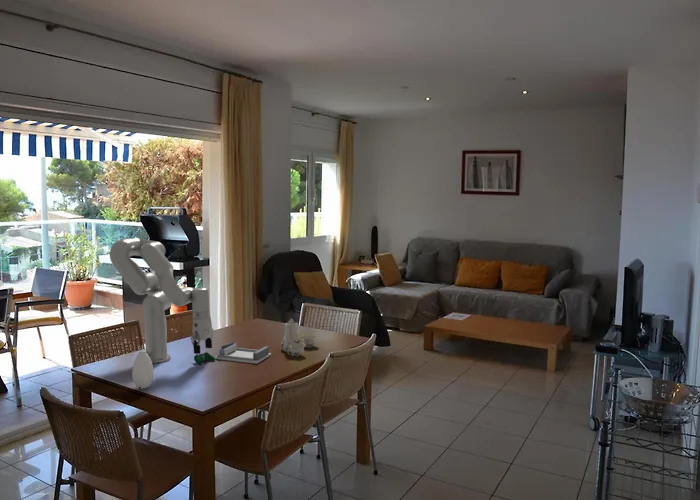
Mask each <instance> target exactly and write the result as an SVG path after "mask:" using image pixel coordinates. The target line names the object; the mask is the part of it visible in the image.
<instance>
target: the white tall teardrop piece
mask: <svg viewBox="0 0 700 500" xmlns="http://www.w3.org/2000/svg"><path fill="white" fill-rule="evenodd" d="M131 370H132V375H131V376H132V379H133V383H134V384H135V386H136V387H137V388H139V387H141V388H145V389H147V388H148V387H149V386H150V385H151V384H152V382H153V379H154V375H155V374H154V366H153V363H152V362H151V359H150V357H149V356H148V354H147V353H146V349H144V345H143V343H142V345H141V350H139V351H138V354H137V355H136V357H135V359H134V361H133V366H132V369H131ZM146 387H147V388H146ZM141 388H140V389H141Z"/></svg>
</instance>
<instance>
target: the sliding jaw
mask: <svg viewBox="0 0 700 500" xmlns="http://www.w3.org/2000/svg"><path fill="white" fill-rule="evenodd" d="M220 347H221V348H219V349H218V350H219V355H227V354H229V353H231V352H233V351H235V350H236V348H237V343H235V341H234V340H232V341H231V342H228V343H226V344H224V345H222V346H220Z"/></svg>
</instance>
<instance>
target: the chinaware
mask: <svg viewBox="0 0 700 500" xmlns="http://www.w3.org/2000/svg"><path fill="white" fill-rule="evenodd" d="M298 324H299V323H298V322H295V321H294V319H293V318H290V319H289V320H288V322H285V323H284V325H285V333H284V337H283V338H282V340H281V342H280V347H281V348H282V351H284V352H286V353H287V355H289V356H292V357H295V356H296V357H300V356H299V355H301V354H302V353H303V352H304V350H305V347H306V348H313V347H314V345H316V343H317V339H318V337H319V336H318V335H314V334H309V335H304V334H303V335H302V337H301V338H300V337H299V336H298ZM300 339H302V341H301V340H300Z"/></svg>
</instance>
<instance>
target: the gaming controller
mask: <svg viewBox="0 0 700 500" xmlns="http://www.w3.org/2000/svg"><path fill="white" fill-rule="evenodd" d="M193 360H194V362H195V363H196V364H197V365H199V366H201V365H202V363H203V362H207V361H210V362H215V361H216V359H215V357H214V356H213V355H211V354H210V353H209V352H208V351H205V352H203V353H200V354H195V355H194V356H193Z"/></svg>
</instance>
